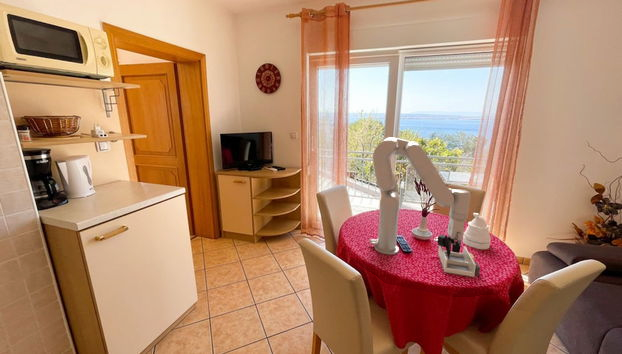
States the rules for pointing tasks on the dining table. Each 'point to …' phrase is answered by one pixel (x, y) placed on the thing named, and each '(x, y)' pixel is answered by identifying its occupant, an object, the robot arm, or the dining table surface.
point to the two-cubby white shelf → (457, 262)
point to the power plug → (444, 243)
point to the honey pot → (477, 233)
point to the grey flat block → (477, 269)
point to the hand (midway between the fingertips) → (453, 247)
